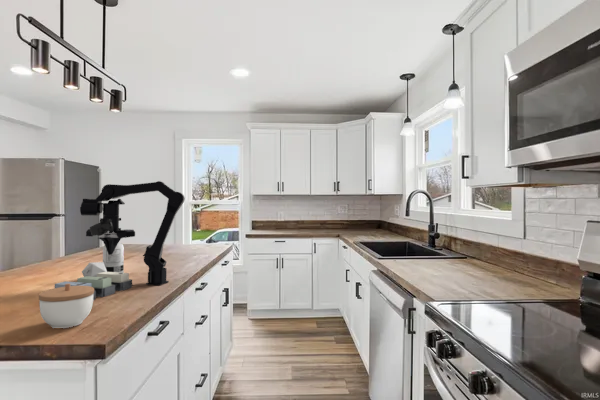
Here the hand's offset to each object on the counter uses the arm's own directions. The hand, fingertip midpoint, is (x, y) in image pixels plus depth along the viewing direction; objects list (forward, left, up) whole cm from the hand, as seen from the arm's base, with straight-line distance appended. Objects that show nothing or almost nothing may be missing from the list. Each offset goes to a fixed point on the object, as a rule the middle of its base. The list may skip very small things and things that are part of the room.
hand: (110, 254), depth 139 cm
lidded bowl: (-22, +40, -13) cm, 47 cm away
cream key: (-4, +3, -12) cm, 13 cm away
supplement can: (+10, -13, -13) cm, 21 cm away
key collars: (-4, +12, -12) cm, 18 cm away
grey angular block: (+11, -4, -13) cm, 17 cm away
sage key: (-4, +12, -12) cm, 18 cm away
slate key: (-4, +21, -12) cm, 25 cm away
